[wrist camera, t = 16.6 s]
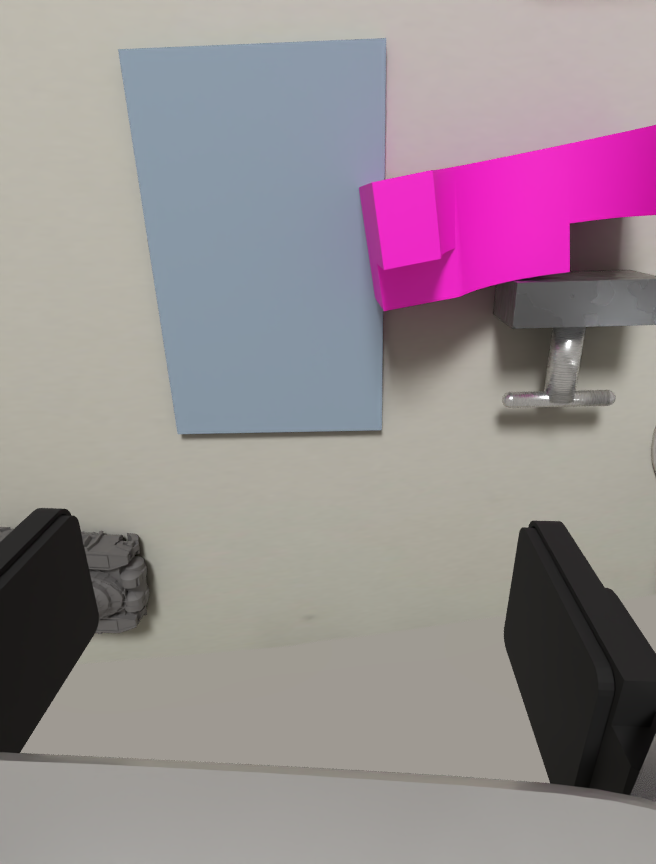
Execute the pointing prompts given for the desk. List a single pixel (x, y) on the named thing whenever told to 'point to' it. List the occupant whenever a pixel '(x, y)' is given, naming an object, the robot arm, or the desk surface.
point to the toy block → (499, 216)
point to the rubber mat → (263, 229)
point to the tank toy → (114, 579)
